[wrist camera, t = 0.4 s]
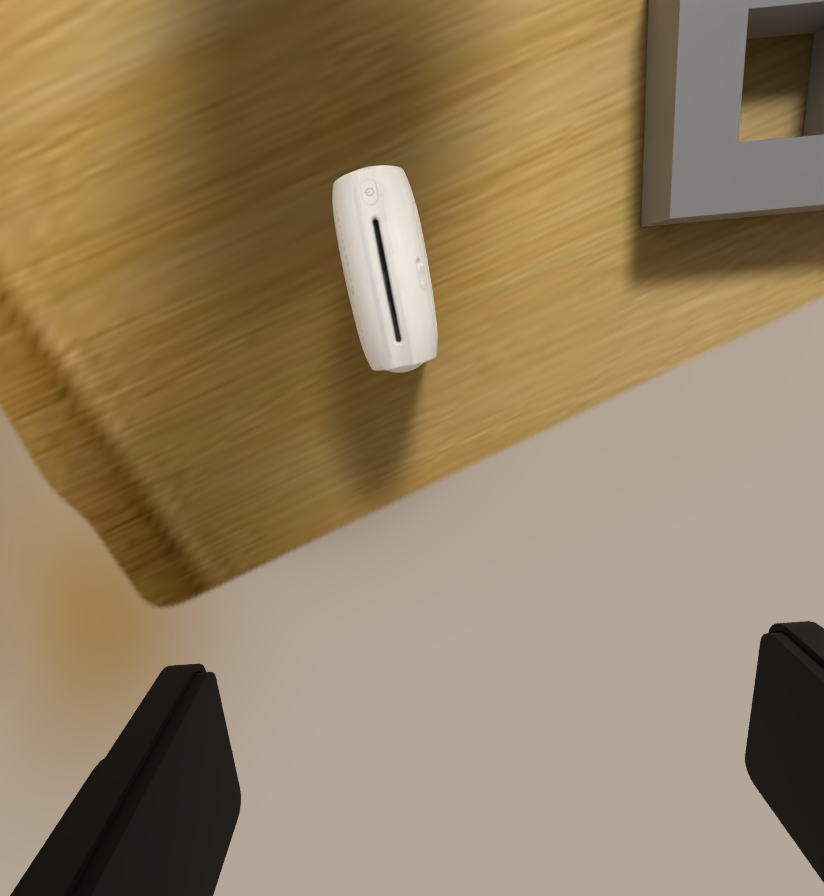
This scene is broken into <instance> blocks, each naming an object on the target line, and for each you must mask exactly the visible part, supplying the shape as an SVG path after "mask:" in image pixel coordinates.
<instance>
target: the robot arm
mask: <svg viewBox="0 0 824 896" xmlns="http://www.w3.org/2000/svg"><path fill="white" fill-rule="evenodd" d="M745 763H746V768H747V771H748V774H749V776H750V778H751V780H752V782H753V783H754V785H755V786H756V788H757V789H758V790H759V792H760V793H761V795H762V796H763V798H764V799H765V800H766V802H767V803H768V805H769V806H770V808H771V809H772V810H773V812H774V813H775V815H776V816H777V817H778V819H779V820H780V822H781V823H782V824H783V826H784V827H785V829H786V830H787V832H788V833H789V834H790V836H791V837H792V839H793V840H794V841H795V843H796V844H797V846H798V847H799V848H800V850H801V851H802V853H803V854H804V856H805V857H806V858H807V860H808V861H809V863H810V864H811V865H812V867H813V868H814V869H815V871H816V872H817V874H818V875H819V877H820V878H821V879H822V881H823V882H824V628H822V627H821V626H819V625H818V624H816V623H814V622H810V621H806V622H792V623H777V624H774V625H772V626H771V628H770V629H769V633H767V634H764V635H763V636H762V638H761V641H760V649H759V656H758V664H757V671H756V679H755V686H754V693H753V701H752V709H751V716H750V723H749V731H748V738H747V746H746V753H745ZM240 805H241V793H240V786H239V782H238V777H237V772H236V768H235V763H234V759H233V754H232V750H231V745H230V740H229V736H228V731H227V726H226V722H225V717H224V712H223V708H222V703H221V698H220V694H219V689H218V685H217V680H216V677H215V674H214V673H213V672H206V670H205V668H204V666H203V665H202V664H188V665H174V666H167V667H165V668H164V669H163V670H162V671H161V673H160V674H159V676H158V678H157V679H156V681H155V682H154V684H153V685H152V687H151V689H150V690H149V691H148V693H147V694H146V696H145V698H144V699H143V700H142V702H141V704H140V705H139V707H138V708H137V710H136V711H135V713H134V714H133V716H132V717H131V719H130V720H129V722H128V724H127V725H126V727H125V728H124V730H123V731H122V733H121V734H120V736H119V737H118V739H117V740H116V742H115V743H114V745H113V747H112V748H111V750H110V751H109V753H108V754H107V756H106V757H105V758H104V759H103V760H101V761H100V762H99V764H98V765H97V766H96V767H95V768H94V770H93V771H92V772H91V774H90V776H89V777H88V779H87V780H86V782H85V783H84V785H83V786H82V788H81V789H80V791H79V792H78V794H77V795H76V797H75V798H74V800H73V801H72V803H71V804H70V806H69V807H68V809H67V810H66V812H65V813H64V815H63V817H62V818H61V819H60V821H59V822H58V824H57V825H56V827H55V829H54V830H53V832H52V833H51V835H50V836H49V838H48V839H47V841H46V842H45V844H44V845H43V847H42V848H41V850H40V851H39V853H38V854H37V856H36V857H35V859H34V860H33V862H32V863H31V865H30V867H29V868H28V869H27V871H26V873H25V874H24V875H23V877H22V878H21V880H20V882H19V883H18V884H17V886H16V888H15V889H14V891H13V892H12V894H11V895H10V896H213V894H214V891H215V888H216V885H217V882H218V879H219V875H220V872H221V869H222V866H223V863H224V859H225V857H226V854H227V851H228V847H229V844H230V841H231V838H232V835H233V832H234V829H235V826H236V823H237V820H238V816H239V812H240Z"/></svg>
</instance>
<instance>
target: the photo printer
mask: <svg viewBox="0 0 824 896" xmlns="http://www.w3.org/2000/svg"><path fill="white" fill-rule="evenodd" d="M332 203H333V214H334V222H335V228H336V235H337V240H338V246H339V251H340V257H341V262H342V267H343V272H344V276H345V281H346V286H347V290H348V295H349V299H350V303H351V307H352V311H353V315H354V319H355V323H356V327H357V331H358V335H359V338H360V342H361V345H362V348H363V351H364V354H365V356H366V358H367V361H368V363H369V365H370V367H371V368H372V370H387V371H390V372H396V373H403V372H408V371H411V370H414V369H416V368H418V367H419V366H421V365H422V364H423V363H424V362H427V361H430V360H432V359H434V358H436V356H437V343H438V331H437V319H436V312H435V305H434V298H433V291H432V284H431V278H430V272H429V266H428V260H427V255H426V249H425V244H424V238H423V233H422V228H421V223H420V218H419V214H418V210H417V206H416V204H415V200H414V196H413V193H412V190H411V187H410V184H409V181H408V179H407V177H406V174H405V172H404V171H403V169H402V168H400V167H397V166H389V165H380V166H369V167H364V168H361V169H358V170H356V171H353V172H350V173H348V174H345V175H343V176H342V177H340V178H339V179H337V180H336V181H335V182H334V184H333V192H332Z"/></svg>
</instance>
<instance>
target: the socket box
mask: <svg viewBox="0 0 824 896" xmlns="http://www.w3.org/2000/svg"><path fill="white" fill-rule="evenodd" d="M806 33H814V38H813V47H812V56H811V66H810V75H809V84H808V93H807V103H806V112H805V121H804V130H803V137H792V138H781V139H771V140H760V141H749V142H739V143H738V139H739V126H740V113H741V101H742V88H743V75H744V62H745V49H746V39H755V38H765V37H775V36H786V35H796V34H806ZM822 210H824V0H649V2H648V32H647V62H646V92H645V122H644V153H643V183H642V213H641V227H648V226H659V225H670V224H680V223H691V222H702V221H713V220H724V219H735V218H746V217H757V216H768V215H778V214H789V213H800V212H811V211H822Z"/></svg>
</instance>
